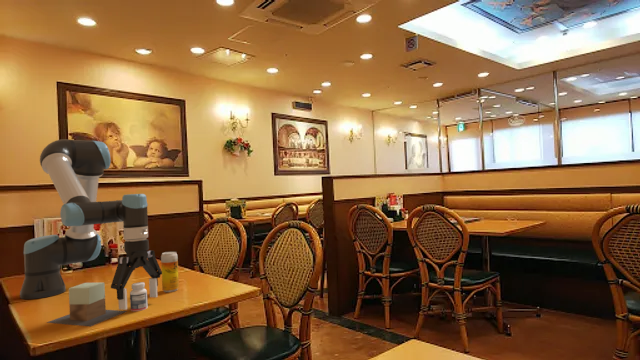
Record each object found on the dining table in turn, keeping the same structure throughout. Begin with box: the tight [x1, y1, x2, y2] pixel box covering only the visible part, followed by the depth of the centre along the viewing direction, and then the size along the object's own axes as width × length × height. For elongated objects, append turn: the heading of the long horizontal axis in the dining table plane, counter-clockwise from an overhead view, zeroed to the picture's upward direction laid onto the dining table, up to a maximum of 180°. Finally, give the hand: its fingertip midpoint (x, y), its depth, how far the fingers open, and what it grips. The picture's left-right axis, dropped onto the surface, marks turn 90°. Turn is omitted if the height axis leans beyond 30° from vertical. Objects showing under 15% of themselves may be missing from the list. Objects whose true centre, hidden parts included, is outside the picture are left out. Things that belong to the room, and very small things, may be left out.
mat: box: [46, 309, 128, 327], centre depth 125 cm, size 18×14×1 cm
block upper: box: [68, 282, 106, 304], centre depth 125 cm, size 7×7×5 cm
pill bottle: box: [129, 281, 149, 312], centre depth 131 cm, size 5×5×9 cm
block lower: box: [68, 297, 107, 321], centre depth 125 cm, size 7×7×5 cm
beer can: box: [160, 251, 180, 293], centre depth 155 cm, size 6×6×15 cm
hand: (139, 302), depth 131 cm, fingers open, 13 cm apart
